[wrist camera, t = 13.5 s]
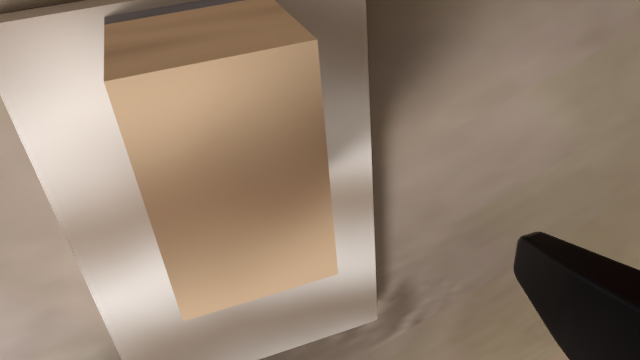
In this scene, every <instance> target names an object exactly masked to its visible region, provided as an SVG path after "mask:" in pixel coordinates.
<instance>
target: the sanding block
mask: <svg viewBox="0 0 640 360" xmlns="http://www.w3.org/2000/svg"><path fill="white" fill-rule="evenodd" d="M104 84H105V87H106V90H107V93H108V96H109V99H110V102H111V105H112V108H113V111H114V114H115V117H116V120H117V123H118V126H119V129H120V132H121V135H122V138H123V141H124V144H125V147H126V150H127V153H128V156H129V159H130V162H131V165H132V168H133V171H134V175H135V178H136V181H137V184H138V187H139V190H140V193H141V196H142V199H143V202H144V205H145V208H146V211H147V214H148V217H149V220H150V223H151V226H152V229H153V232H154V235H155V238H156V241H157V244H158V247H159V250H160V253H161V256H162V259H163V262H164V265H165V268H166V271H167V274H168V277H169V280H170V283H171V286H172V289H173V292H174V295H175V298H176V301H177V304H178V307H179V310H180V313H181V316H182V319H183V321H186V320H190V319H193V318H196V317H200V316H203V315H206V314H209V313H213V312H216V311H219V310H222V309H226V308H229V307H232V306H236V305H239V304H242V303H245V302H249V301H252V300H255V299H258V298H262V297H265V296H268V295H272V294H275V293H278V292H281V291H285V290H288V289H291V288H295V287H298V286H301V285H304V284H308V283H311V282H314V281H317V280H321V279H324V278H327V277H331V276H334V275H337V274H338V268H337V257H336V245H335V234H334V222H333V211H332V200H331V188H330V177H329V166H328V154H327V143H326V132H325V120H324V109H323V98H322V86H321V75H320V64H319V52H318V41H317V39H316V38H315V37H314V36H313V35H312V34H311V33H310V32H309V31H307V30H306V29H305V28H304V27H303V26H302V25H301V24H300V23H299V22H298V21H297V20H295V19H294V18H293V17H292V16H291V15H290V14H289V13H288V12H287V11H286V10H284V9H283V8H282V7H281V6H280V5H279V4H278V3H277V2H276V1H275V0H201V1H195V2H189V3H183V4H177V5H171V6H165V7H160V8H154V9H148V10H142V11H136V12H130V13H124V14H118V15H113V16H107V17H104Z"/></svg>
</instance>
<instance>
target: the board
mask: <svg viewBox="0 0 640 360" xmlns="http://www.w3.org/2000/svg"><path fill="white" fill-rule="evenodd" d="M195 1H201V0H83V1H77V2H71V3H65V4H59V5H53V6H47V7H41V8H35V9H29V10H22V11H16V12H10V13H4V14H0V95H1V97H2V100H3V102H4V104H5V106H6V108H7V111H8V113H9V115H10V117H11V119H12V121H13V124H14V126H15V128H16V130H17V132H18V135H19V137H20V139H21V141H22V143H23V146H24V148H25V150H26V152H27V154H28V156H29V159H30V161H31V163H32V165H33V167H34V170H35V172H36V174H37V176H38V178H39V181H40V183H41V185H42V187H43V189H44V191H45V194H46V196H47V198H48V200H49V202H50V205H51V207H52V209H53V211H54V213H55V215H56V218H57V220H58V222H59V224H60V226H61V229H62V231H63V233H64V235H65V237H66V240H67V242H68V244H69V246H70V248H71V250H72V253H73V255H74V257H75V259H76V261H77V264H78V266H79V268H80V270H81V272H82V275H83V277H84V279H85V281H86V283H87V285H88V288H89V290H90V292H91V294H92V296H93V299H94V301H95V303H96V305H97V307H98V309H99V312H100V314H101V316H102V318H103V320H104V323H105V325H106V327H107V329H108V331H109V334H110V336H111V338H112V340H113V342H114V344H115V347H116V349H117V351H118V353H119V355H120V358H121V360H259V359H262V358H265V357H268V356H271V355H274V354H277V353H280V352H283V351H286V350H289V349H292V348H295V347H298V346H301V345H304V344H307V343H310V342H313V341H316V340H319V339H322V338H325V337H328V336H331V335H334V334H337V333H340V332H343V331H346V330H349V329H352V328H355V327H358V326H361V325H364V324H367V323H370V322H373V321H376V320H377V292H376V264H375V236H374V209H373V181H372V153H371V125H370V97H369V70H368V42H367V14H366V0H275V1H276V2H277V3H278V4H279V5H280V6H281V7H282V8H283V9H284V10H286V11H287V12H288V13H289V14H290V15H291V16H292V17H293V18H294V19H295V20H297V21H298V22H299V23H300V24H301V25H302V26H303V27H304V28H305V29H306V30H307V31H309V32H310V33H311V34H312V35H313V36H314V37H315V38H316V39H317V41H318V52H319V64H320V75H321V86H322V98H323V109H324V120H325V132H326V143H327V154H328V166H329V177H330V188H331V200H332V211H333V222H334V234H335V245H336V257H337V268H338V274H337V275H334V276H331V277H327V278H324V279H321V280H317V281H314V282H311V283H308V284H304V285H301V286H298V287H295V288H291V289H288V290H285V291H281V292H278V293H275V294H272V295H268V296H265V297H262V298H258V299H255V300H252V301H249V302H245V303H242V304H239V305H236V306H232V307H229V308H226V309H222V310H219V311H216V312H213V313H209V314H206V315H203V316H200V317H196V318H193V319H190V320H186V321H183V319H182V316H181V313H180V310H179V307H178V304H177V301H176V298H175V295H174V292H173V289H172V286H171V283H170V280H169V277H168V274H167V271H166V268H165V265H164V262H163V259H162V256H161V253H160V250H159V247H158V244H157V241H156V238H155V235H154V232H153V229H152V226H151V223H150V220H149V217H148V214H147V211H146V208H145V205H144V202H143V199H142V196H141V193H140V190H139V187H138V184H137V181H136V178H135V175H134V171H133V168H132V165H131V162H130V159H129V156H128V153H127V150H126V147H125V144H124V141H123V138H122V135H121V132H120V129H119V126H118V123H117V120H116V117H115V114H114V111H113V108H112V105H111V102H110V99H109V96H108V93H107V90H106V87H105V84H104V17H107V16H113V15H118V14H124V13H130V12H136V11H142V10H148V9H154V8H160V7H165V6H171V5H177V4H183V3H189V2H195Z"/></svg>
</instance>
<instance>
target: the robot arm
mask: <svg viewBox="0 0 640 360" xmlns="http://www.w3.org/2000/svg"><path fill="white" fill-rule="evenodd" d="M514 273H515V276H516V278H517V280H518V282H519V283H520V285H521V287H522V288H523V290H524V291H525V293H526V295H527V296H528V298H529V300H530V301H531V303H532V304H533V306H534V308H535V309H536V311H537V312H538V314H539V316H540V317H541V319H542V320H543V322H544V324H545V325H546V327H547V328H548V330H549V332H550V333H551V335H552V336H553V338H554V339H555V341H556V342H557V344H558V345H559V346H560V348H561V349H562V350H563V352H564V353H565V354H566V356H567V357H568V358H569V360H640V270H637V269H635V268H632V267H630V266H627V265H625V264H622V263H620V262H617V261H614V260H612V259H609V258H607V257H604V256H602V255H599V254H597V253H594V252H591V251H589V250H586V249H584V248H581V247H579V246H576V245H574V244H571V243H568V242H566V241H563V240H561V239H558V238H556V237H553V236H551V235H548V234H545V233H543V232H533V233H530V234H527V235H524V236H522V237H520V238H519V240H518V242H517V248H516V254H515V260H514Z"/></svg>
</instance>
